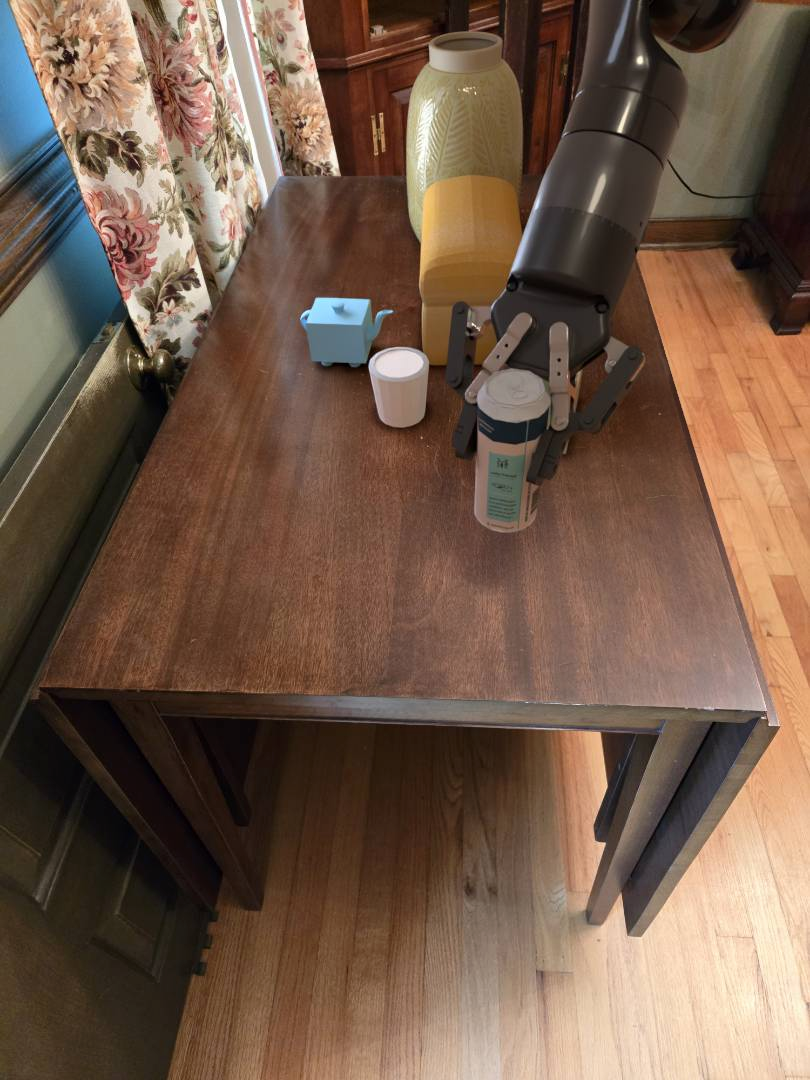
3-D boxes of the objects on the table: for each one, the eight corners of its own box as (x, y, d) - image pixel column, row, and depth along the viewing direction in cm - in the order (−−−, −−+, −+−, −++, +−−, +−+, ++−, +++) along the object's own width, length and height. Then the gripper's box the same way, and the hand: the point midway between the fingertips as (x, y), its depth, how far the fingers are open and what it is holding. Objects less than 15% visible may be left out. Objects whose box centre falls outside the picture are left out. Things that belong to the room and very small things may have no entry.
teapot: (399, 344, 97) (396, 292, 91) (392, 370, 93) (388, 318, 87) (311, 340, 98) (303, 289, 93) (301, 366, 94) (292, 314, 89)
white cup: (364, 405, 88) (359, 355, 83) (415, 389, 90) (413, 339, 85) (387, 437, 84) (383, 387, 79) (440, 419, 86) (439, 370, 80)
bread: (522, 365, 92) (532, 251, 81) (421, 366, 93) (417, 254, 82) (511, 269, 108) (518, 164, 97) (425, 271, 109) (422, 167, 98)
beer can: (520, 486, 58) (532, 358, 49) (546, 527, 55) (564, 398, 46) (464, 501, 57) (466, 374, 48) (487, 544, 54) (494, 416, 45)
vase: (391, 232, 118) (379, 37, 98) (484, 208, 123) (490, 16, 103) (439, 278, 108) (436, 69, 88) (538, 250, 112) (557, 45, 92)
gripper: (471, 184, 47) (387, 433, 50) (692, 225, 42) (586, 503, 44) (502, 229, 54) (427, 447, 56) (695, 270, 49) (604, 508, 51)
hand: (498, 470), depth 50 cm, fingers closed on beer can, 4 cm apart
